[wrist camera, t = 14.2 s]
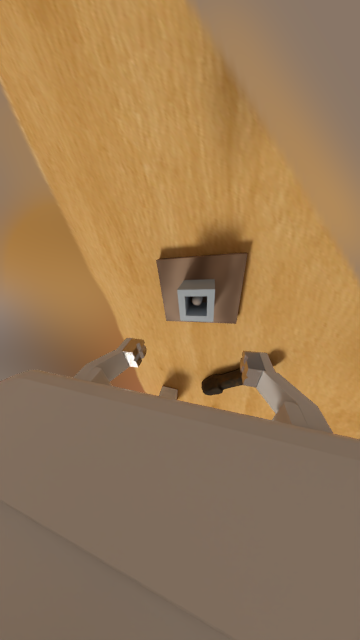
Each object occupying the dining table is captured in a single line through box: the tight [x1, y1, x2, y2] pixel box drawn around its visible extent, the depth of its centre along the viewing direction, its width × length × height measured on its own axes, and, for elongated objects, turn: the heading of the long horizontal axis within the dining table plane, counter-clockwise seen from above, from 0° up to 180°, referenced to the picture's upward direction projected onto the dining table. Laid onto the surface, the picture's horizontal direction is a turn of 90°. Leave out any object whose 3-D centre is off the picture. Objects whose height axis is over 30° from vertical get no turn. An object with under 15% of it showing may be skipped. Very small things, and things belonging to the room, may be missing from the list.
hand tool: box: [202, 369, 276, 395], centre depth 33 cm, size 19×4×5 cm, turn 129°
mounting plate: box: [156, 253, 247, 324], centre depth 22 cm, size 14×12×5 cm
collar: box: [177, 279, 215, 322], centre depth 21 cm, size 5×5×5 cm
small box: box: [159, 386, 178, 400], centre depth 43 cm, size 8×6×10 cm
